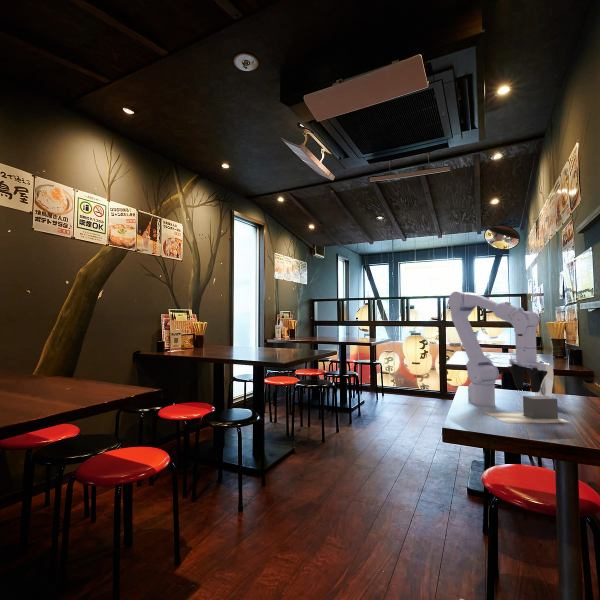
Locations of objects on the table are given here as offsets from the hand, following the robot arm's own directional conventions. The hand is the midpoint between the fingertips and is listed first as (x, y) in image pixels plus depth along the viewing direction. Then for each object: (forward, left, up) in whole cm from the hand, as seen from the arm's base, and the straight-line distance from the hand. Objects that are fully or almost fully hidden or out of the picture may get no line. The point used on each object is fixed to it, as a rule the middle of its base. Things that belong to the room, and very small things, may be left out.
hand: (527, 389), depth 116 cm
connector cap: (+3, +2, -8) cm, 9 cm away
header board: (+3, -3, -9) cm, 10 cm away
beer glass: (-22, +22, -10) cm, 33 cm away
